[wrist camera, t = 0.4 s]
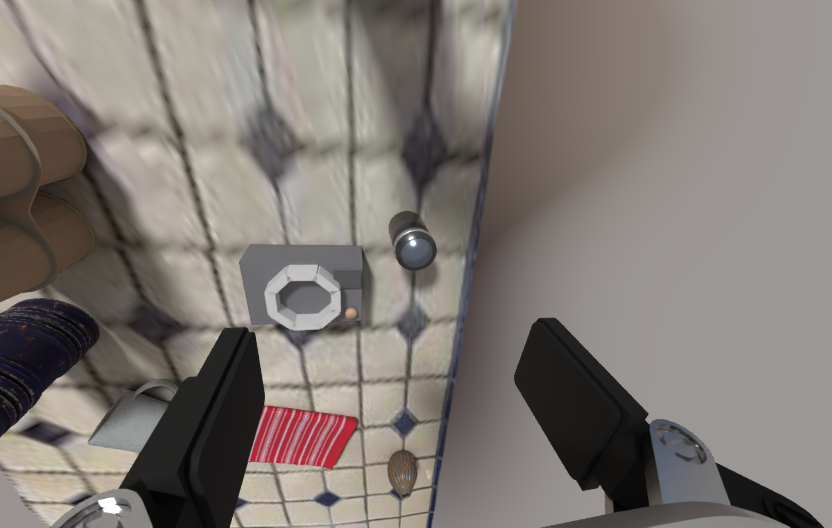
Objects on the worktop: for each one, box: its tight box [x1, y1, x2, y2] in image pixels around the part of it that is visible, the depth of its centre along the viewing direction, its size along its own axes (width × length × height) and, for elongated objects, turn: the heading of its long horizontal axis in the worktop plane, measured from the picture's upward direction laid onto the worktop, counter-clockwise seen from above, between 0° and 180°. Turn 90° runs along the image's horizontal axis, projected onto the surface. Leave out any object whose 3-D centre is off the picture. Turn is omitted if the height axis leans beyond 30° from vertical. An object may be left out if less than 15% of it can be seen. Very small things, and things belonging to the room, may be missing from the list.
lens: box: [389, 211, 437, 270], centre depth 41 cm, size 5×5×8 cm
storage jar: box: [0, 298, 100, 437], centre depth 35 cm, size 10×10×15 cm
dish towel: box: [248, 406, 357, 469], centre depth 62 cm, size 17×24×3 cm
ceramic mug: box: [88, 380, 179, 452], centre depth 48 cm, size 11×8×8 cm
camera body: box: [239, 244, 363, 331], centre depth 42 cm, size 10×15×7 cm, turn 84°
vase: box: [388, 450, 417, 498], centre depth 70 cm, size 7×7×9 cm
